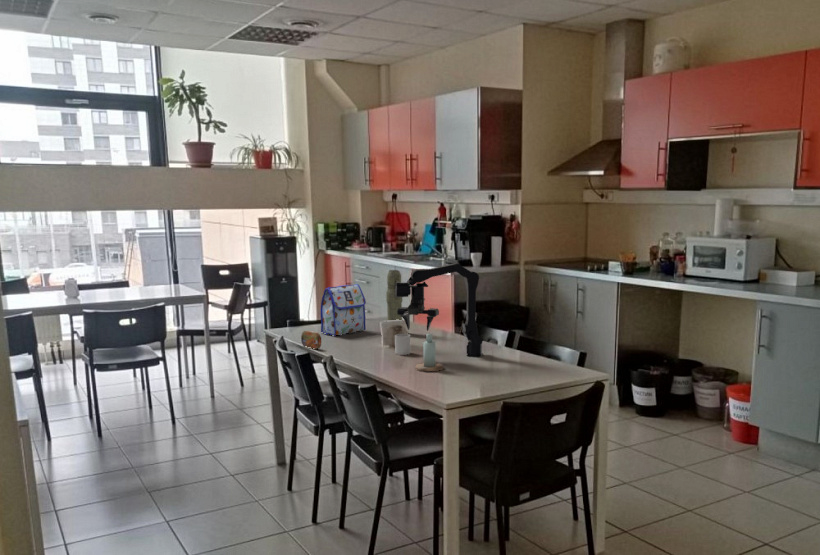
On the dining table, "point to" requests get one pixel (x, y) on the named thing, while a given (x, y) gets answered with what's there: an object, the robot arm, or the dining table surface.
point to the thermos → (393, 295)
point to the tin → (311, 339)
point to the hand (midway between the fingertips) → (418, 330)
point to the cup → (402, 344)
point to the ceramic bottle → (429, 351)
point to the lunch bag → (343, 310)
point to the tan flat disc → (422, 368)
